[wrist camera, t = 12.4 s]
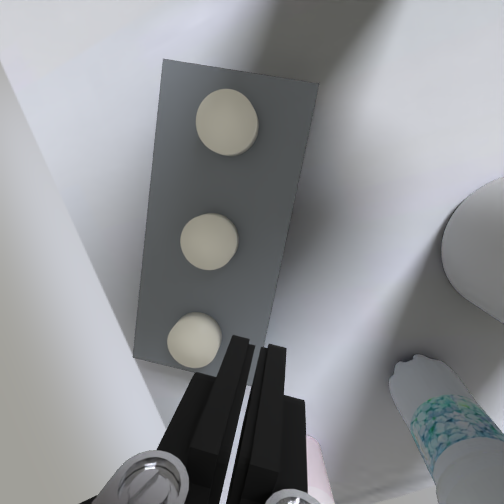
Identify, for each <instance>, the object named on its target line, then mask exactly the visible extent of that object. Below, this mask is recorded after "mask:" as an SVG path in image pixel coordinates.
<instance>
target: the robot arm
mask: <svg viewBox="0 0 504 504" xmlns="http://www.w3.org/2000/svg"><path fill="white" fill-rule="evenodd" d="M249 341H250V339H248V338H244V337H240V336H236V335H232V338H231V340H230V343H229V345H228V348H227V351H226V353H225V356H224V359H223V361H222V364H221V366H220V369H219V372H218V374H217V377H214V376H211V375H207V374H203V373H199V372H196V373H195V374H194V375H193V377H192V379H191V381H190V383H189V385H188V387H187V389H186V391H185V393H184V395H183V397H182V400H181V402H180V404H179V406H178V408H177V410H176V412H175V414H174V416H173V418H172V420H171V422H170V424H169V426H168V428H167V430H166V432H165V434H164V436H163V438H162V440H161V442H160V444H159V446H158V448H157V450H153V451H146V452H142V453H139V454H137V455H135V456H133V457H132V458H130V459H128V460H127V461H126V462H125V463H124V464H123V465H122V466H121V467H120V468H119V469H118V470H117V471H116V473H115V474H114V475H113V476H112V478H111V479H110V480H109V481H108V483H107V484H106V485H105V486H104V488H103V489H102V490H101V492H100V493H99V494H98V495H97V496H94V497H92V498H91V499H88V500H86V501H84V502H82V503H80V504H219V502H220V497H221V493H222V489H223V484H224V480H225V476H226V471H227V467H228V463H229V458H230V454H231V450H232V445H233V441H234V437H235V432H236V428H237V424H238V419H239V415H240V411H241V406H242V402H243V398H244V393H245V389H246V385H247V380H248V376H249V371H250V367H251V363H252V358H253V354H254V350H255V345H252V344H249ZM285 365H286V348H284V347H280V346H276V345H272V344H269V345H268V348H264V347H261V349H260V353H259V357H258V361H257V366H256V370H255V374H254V378H253V383H252V387H251V391H250V395H249V400H248V404H247V408H246V412H245V417H244V421H243V426H242V430H241V435H240V440H239V445H238V449H237V454H236V459H235V464H234V468H233V473H232V478H231V483H230V487H229V492H228V497H227V502H226V504H320V503H319V502H318V501H317V500H316V499H315V498H314V497H312V496H310V495H309V494H308V478H307V448H306V418H305V402H304V400H301V399H297V398H294V397H290V396H286V395H284V382H285Z"/></svg>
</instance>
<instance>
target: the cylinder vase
mask: <svg viewBox="0 0 504 504" xmlns="http://www.w3.org/2000/svg"><path fill="white" fill-rule="evenodd" d="M441 256H442V263H443V267H444V270H445V273H446V275H447V277H448V279H449V281H450V283H451V284H452V286H453V287H454V288H455V289H456V290H457V292H458V293H459V294H461V295H462V296H463V297H464V298H465V299H467V300H468V301H470V302H471V303H473V304H474V305H476V306H477V307H479V308H480V309H482V310H483V311H485V312H486V313H488V314H489V315H491V316H492V317H494V318H495V319H497V320H498V321H500V322H501V323H503V324H504V177H501V178H498V179H496V180H494V181H491V182H489V183H487V184H485V185H484V186H482V187H480V188H479V189H477V190H476V191H474V192H473V193H472V194H471V195H469V196H468V197H467V198H466V199H465V200H464V201H463V202H462V203H461V204H460V205H459V207H458V208H457V209H456V210H455V212H454V213H453V215H452V216H451V218H450V220H449V222H448V224H447V226H446V229H445V232H444V235H443V239H442V246H441Z"/></svg>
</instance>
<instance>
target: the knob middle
mask: <svg viewBox="0 0 504 504" xmlns="http://www.w3.org/2000/svg"><path fill="white" fill-rule="evenodd" d="M180 244H181V249H182V252H183V254H184V256H185V257H186V259H187V260H188V261H189V262H190V263H191V264H192V265H194V266H195V267H197V268H200V269H203V270H215V269H218V268H221V267H223V266H224V265H225V264H227V263H228V262H229V260H230V259H231V258H232V257H233V255H234V254H235V253H236V251H237V248H238V244H239V236H238V232H237V229H236V227H235V225H234V224H233V223H232V222H231V221H230V220H229V219H228V218H227V217H225V216H223V215H221V214H218V213H207V214H203V215H200V216H197V217H195V218H193V219H192V220H190V221H189V222H188V223H187V224H186V225H185V227H184V228H183V231H182V233H181V238H180Z"/></svg>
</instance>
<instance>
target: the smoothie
mask: <svg viewBox="0 0 504 504" xmlns="http://www.w3.org/2000/svg"><path fill="white" fill-rule="evenodd" d="M306 448H307V478H308V494H309V495H310V496H312V497H314V498H315V499H316V500H317V501H318V502H319V503H320V504H335V502H334V498H333V494H332V491H331V487H330V483H329V479H328V475H327V471H326V467H325V463H324V460H323V456H322V452H321V448H320V445H319V443H318V442H317V441H316V440H315V439H314V438H312V437H310V436H307V435H306Z"/></svg>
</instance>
